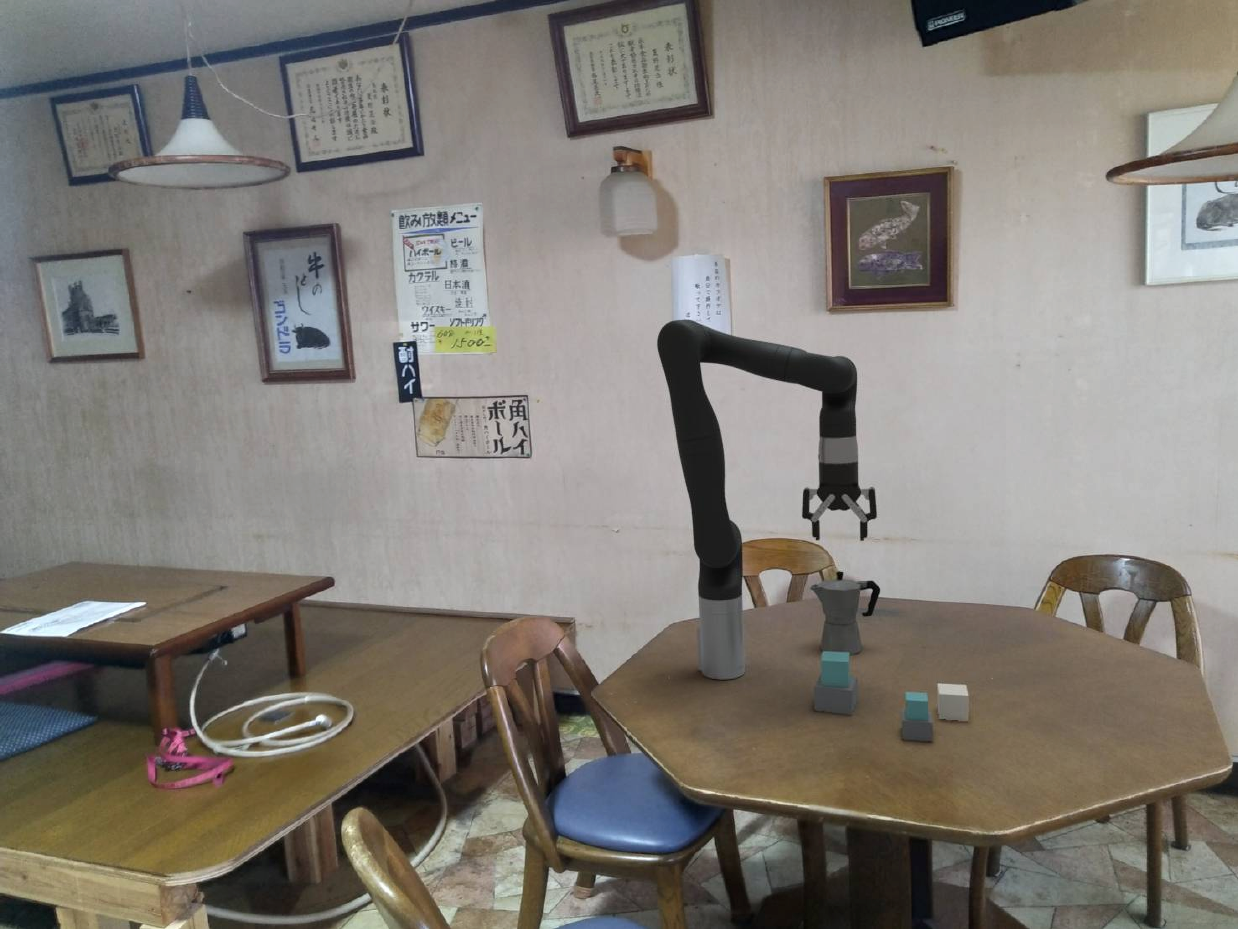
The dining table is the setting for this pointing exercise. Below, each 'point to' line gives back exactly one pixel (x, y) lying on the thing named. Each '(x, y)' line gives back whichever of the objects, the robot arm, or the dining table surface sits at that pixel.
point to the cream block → (953, 702)
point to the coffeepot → (843, 612)
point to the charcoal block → (836, 697)
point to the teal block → (835, 669)
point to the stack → (917, 718)
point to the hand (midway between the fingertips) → (839, 539)
